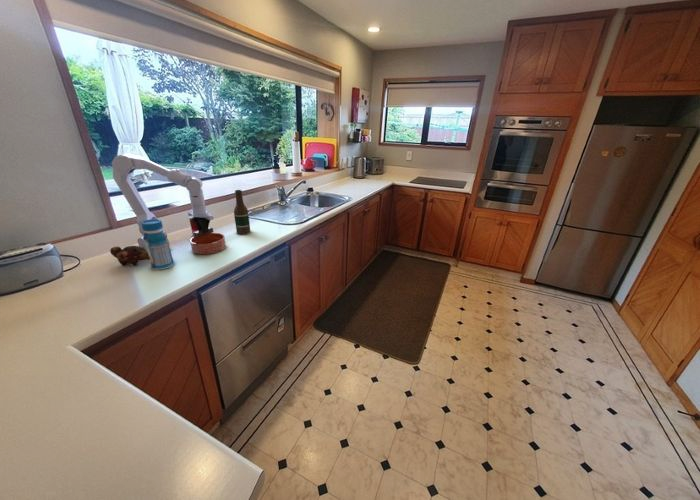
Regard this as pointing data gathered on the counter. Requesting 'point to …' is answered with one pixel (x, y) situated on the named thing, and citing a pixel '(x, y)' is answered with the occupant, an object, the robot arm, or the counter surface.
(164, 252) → the beverage bottle
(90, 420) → the counter surface
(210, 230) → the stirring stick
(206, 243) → the bowl
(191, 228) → the canned food
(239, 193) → the beer bottle
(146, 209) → the robot arm
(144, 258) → the decorative turtle
